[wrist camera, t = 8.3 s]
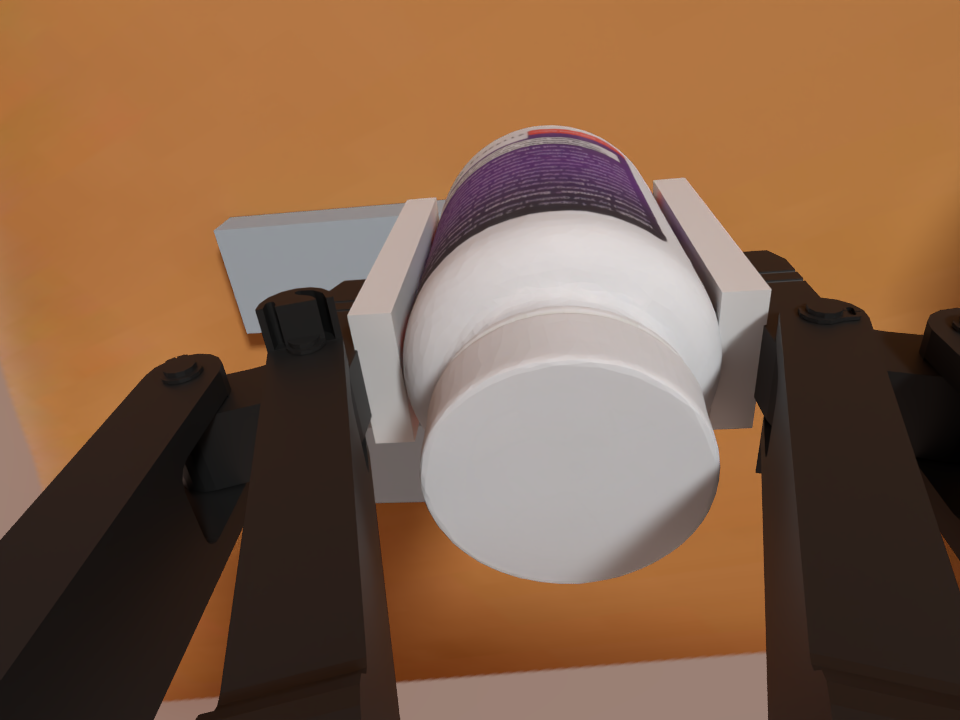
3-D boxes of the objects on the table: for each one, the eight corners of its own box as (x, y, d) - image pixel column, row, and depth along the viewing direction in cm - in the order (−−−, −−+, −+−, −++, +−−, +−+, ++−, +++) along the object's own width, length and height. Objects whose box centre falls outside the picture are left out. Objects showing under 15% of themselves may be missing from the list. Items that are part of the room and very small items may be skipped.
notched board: (230, 217, 34) (213, 230, 32) (459, 198, 32) (454, 211, 31) (312, 483, 43) (302, 504, 41) (494, 478, 41) (492, 500, 40)
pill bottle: (399, 227, 17) (282, 475, 9) (553, 70, 15) (591, 201, 7) (540, 356, 19) (553, 663, 11) (695, 233, 17) (865, 497, 8)
